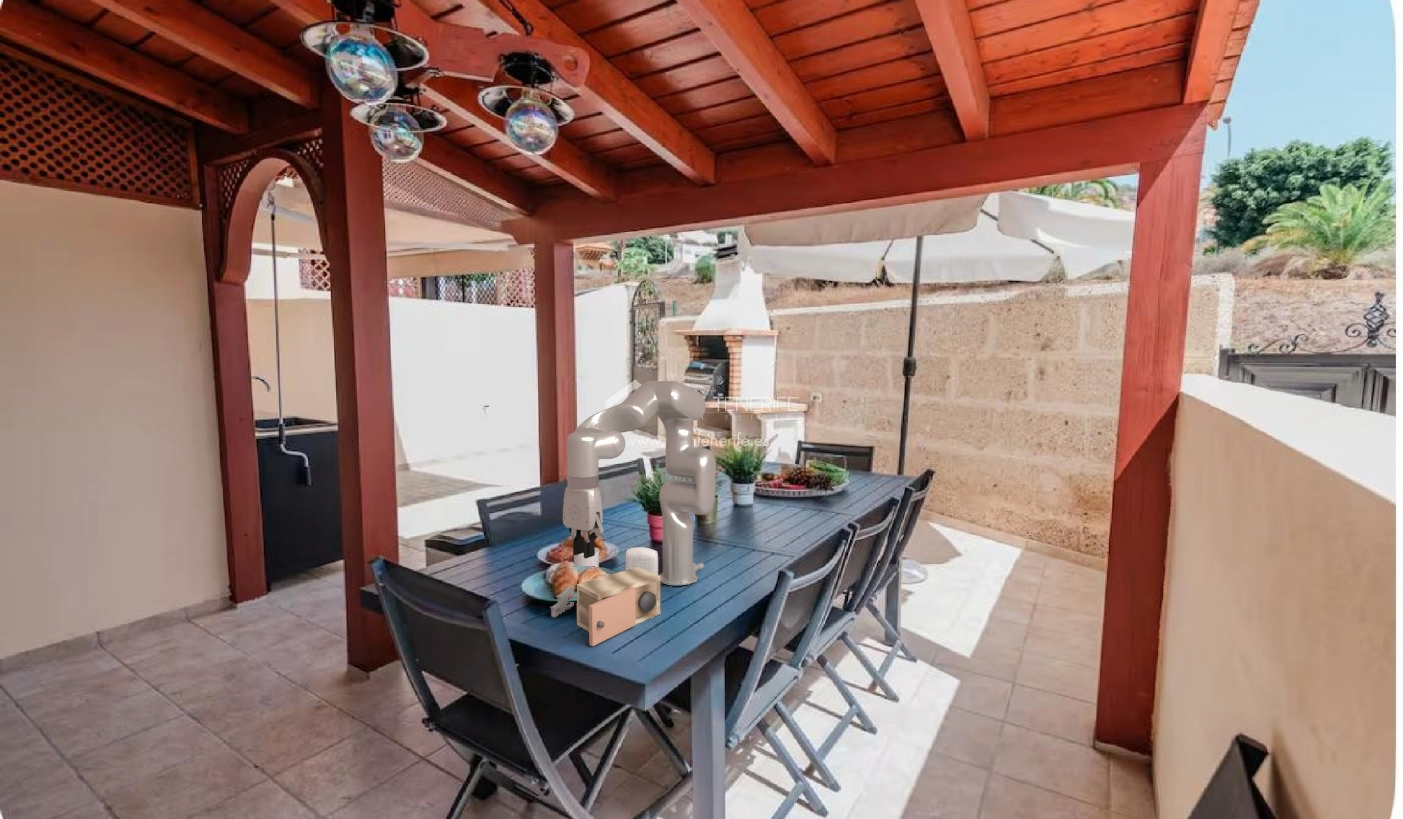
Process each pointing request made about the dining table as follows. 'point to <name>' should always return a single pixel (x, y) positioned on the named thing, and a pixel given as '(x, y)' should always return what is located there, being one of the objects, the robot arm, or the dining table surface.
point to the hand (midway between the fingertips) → (584, 554)
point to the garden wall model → (562, 602)
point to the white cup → (587, 559)
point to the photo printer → (642, 559)
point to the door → (611, 616)
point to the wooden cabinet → (614, 584)
